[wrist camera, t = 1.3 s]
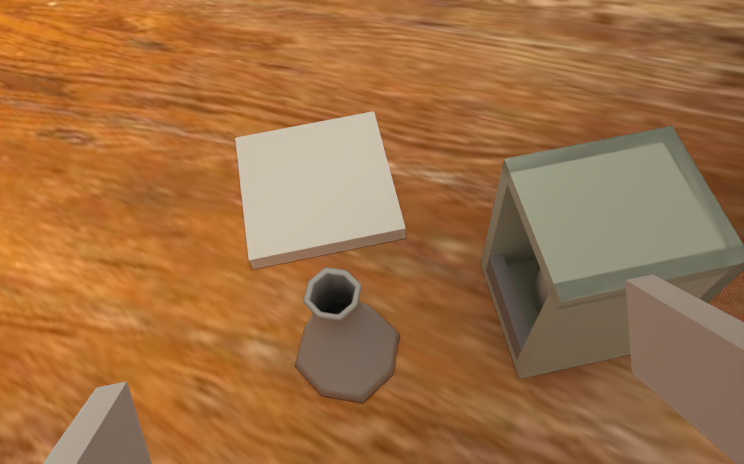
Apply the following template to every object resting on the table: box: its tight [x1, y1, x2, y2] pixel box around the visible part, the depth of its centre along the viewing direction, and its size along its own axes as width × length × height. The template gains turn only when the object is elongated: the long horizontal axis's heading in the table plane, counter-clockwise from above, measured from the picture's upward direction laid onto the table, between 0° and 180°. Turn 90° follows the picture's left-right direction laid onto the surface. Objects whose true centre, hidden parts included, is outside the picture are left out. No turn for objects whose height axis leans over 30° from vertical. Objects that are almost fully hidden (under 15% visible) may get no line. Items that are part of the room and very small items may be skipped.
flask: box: [295, 267, 400, 403], centre depth 38 cm, size 7×7×10 cm
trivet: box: [235, 111, 406, 269], centre depth 49 cm, size 12×12×2 cm
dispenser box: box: [481, 126, 744, 379], centre depth 38 cm, size 10×9×13 cm
